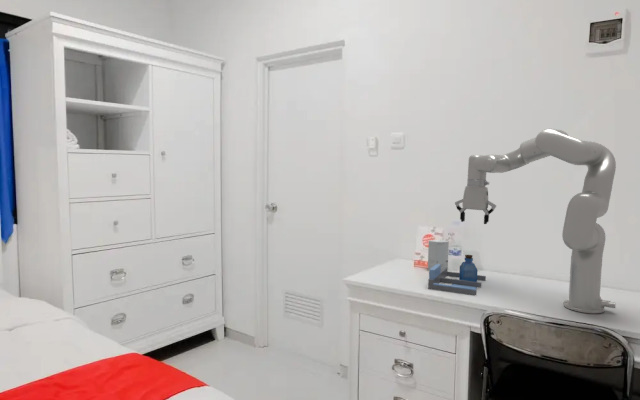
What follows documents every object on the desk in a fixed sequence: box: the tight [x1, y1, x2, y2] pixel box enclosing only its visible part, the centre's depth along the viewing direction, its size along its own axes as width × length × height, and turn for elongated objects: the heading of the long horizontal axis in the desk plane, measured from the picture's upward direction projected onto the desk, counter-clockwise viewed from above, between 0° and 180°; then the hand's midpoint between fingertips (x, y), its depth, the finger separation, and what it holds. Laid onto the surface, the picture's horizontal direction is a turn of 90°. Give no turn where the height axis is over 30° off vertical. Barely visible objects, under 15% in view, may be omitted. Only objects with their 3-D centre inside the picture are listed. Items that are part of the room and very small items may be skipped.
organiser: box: [427, 264, 487, 296], centre depth 186 cm, size 19×27×8 cm
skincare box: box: [427, 239, 449, 271], centre depth 211 cm, size 8×6×15 cm
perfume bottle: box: [458, 254, 478, 282], centre depth 190 cm, size 6×6×12 cm
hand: (473, 222), depth 188 cm, fingers open, 9 cm apart
